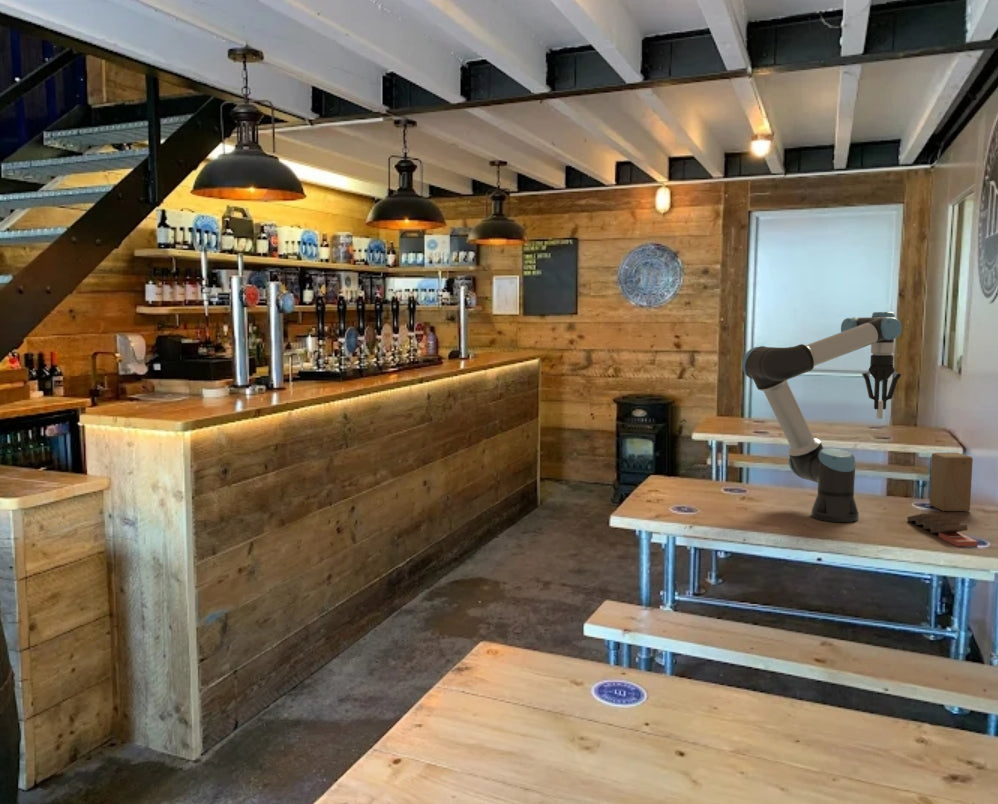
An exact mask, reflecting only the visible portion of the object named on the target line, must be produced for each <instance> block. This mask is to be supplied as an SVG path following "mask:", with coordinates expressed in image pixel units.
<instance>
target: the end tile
mask: <svg viewBox="0 0 998 804" xmlns="http://www.w3.org/2000/svg"><path fill="white" fill-rule="evenodd" d="M940 537H941V538H940ZM938 538H940V539H942V538H943V539H942V540H943V541H945V542H947V541H948V543H949V542H950V544H951V543H952V544H951V545H953V544H954V545H953V546H955V545H956V546H955V547H957V546H978V545H979V540H976V539H974V538H972V537H969V536H968V535H965V534H962V533H961V532H939V533H938Z"/></svg>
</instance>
